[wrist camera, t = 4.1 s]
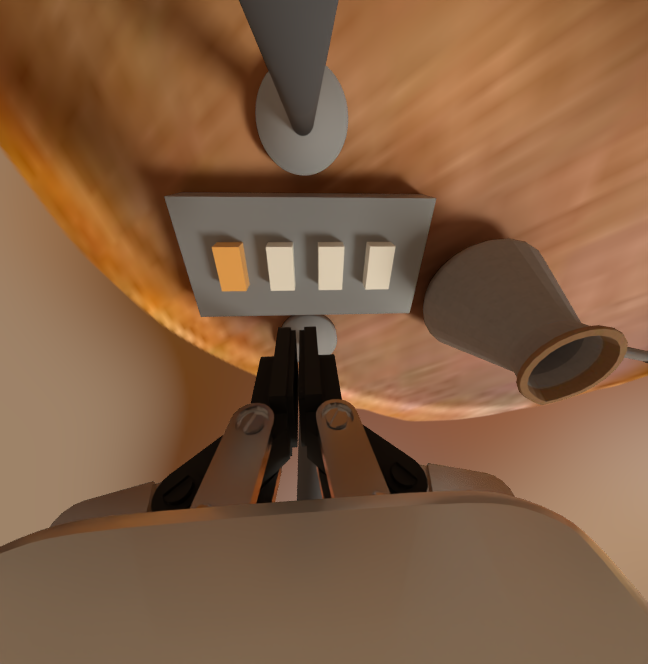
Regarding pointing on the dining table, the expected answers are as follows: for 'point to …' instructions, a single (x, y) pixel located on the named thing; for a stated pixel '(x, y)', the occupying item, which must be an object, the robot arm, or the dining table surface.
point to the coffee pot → (520, 321)
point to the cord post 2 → (306, 469)
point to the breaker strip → (301, 251)
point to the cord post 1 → (298, 83)
